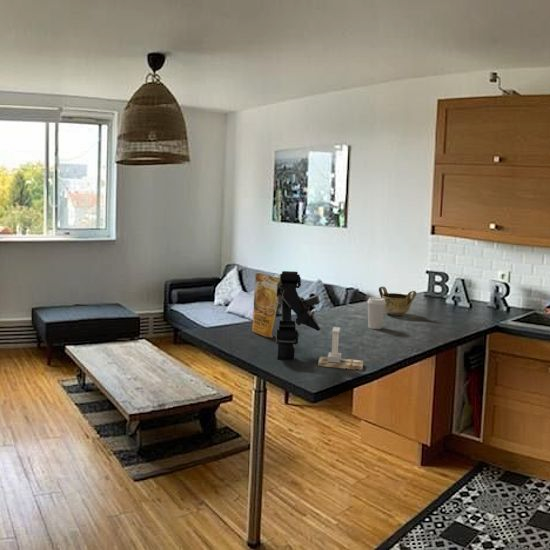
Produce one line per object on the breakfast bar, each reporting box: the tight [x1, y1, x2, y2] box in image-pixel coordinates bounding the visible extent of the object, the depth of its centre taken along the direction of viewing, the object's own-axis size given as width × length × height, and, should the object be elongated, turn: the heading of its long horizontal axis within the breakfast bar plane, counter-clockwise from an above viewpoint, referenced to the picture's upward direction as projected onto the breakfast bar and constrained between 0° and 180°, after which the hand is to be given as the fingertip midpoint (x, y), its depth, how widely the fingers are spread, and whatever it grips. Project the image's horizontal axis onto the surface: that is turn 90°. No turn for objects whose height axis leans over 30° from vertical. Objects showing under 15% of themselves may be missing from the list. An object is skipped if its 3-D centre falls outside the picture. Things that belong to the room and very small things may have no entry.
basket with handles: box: [378, 286, 417, 317], centre depth 346 cm, size 22×17×15 cm
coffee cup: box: [366, 296, 386, 330], centre depth 311 cm, size 10×10×15 cm
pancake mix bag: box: [251, 272, 280, 338], centre depth 287 cm, size 7×19×28 cm, turn 36°
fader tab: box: [326, 326, 342, 363], centre depth 244 cm, size 5×7×13 cm
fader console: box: [317, 356, 364, 371], centre depth 245 cm, size 18×8×2 cm, turn 80°
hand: (319, 330), depth 245 cm, fingers closed
